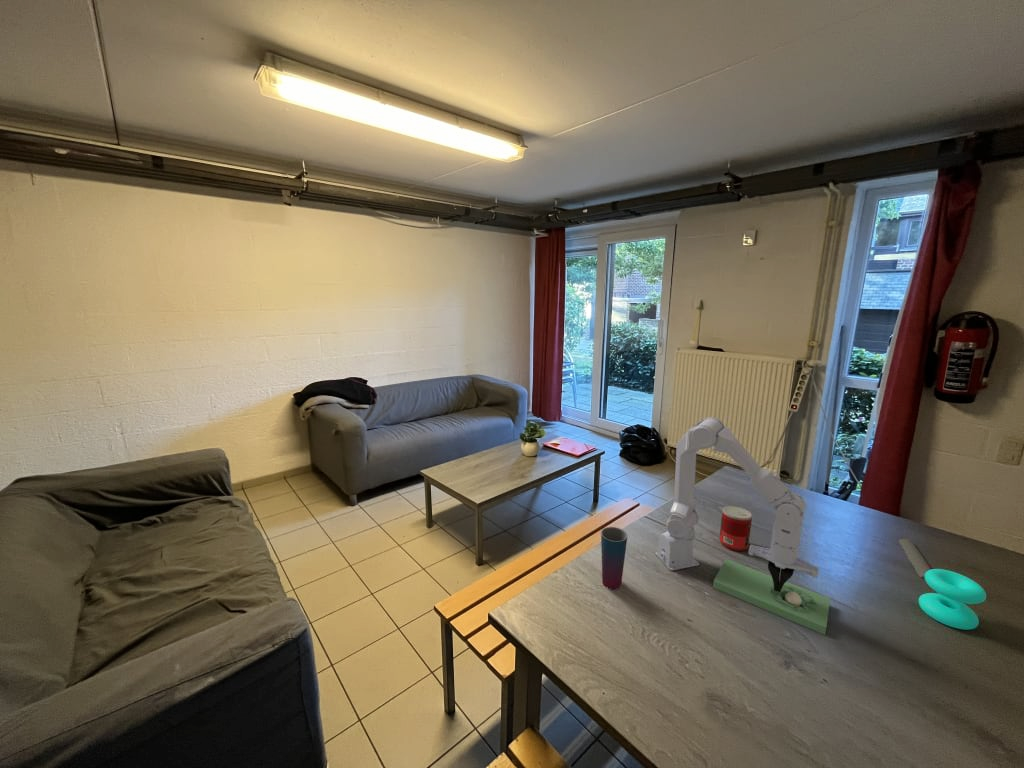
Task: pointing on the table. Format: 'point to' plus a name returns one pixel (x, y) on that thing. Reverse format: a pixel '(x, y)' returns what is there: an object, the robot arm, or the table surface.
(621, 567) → the cup
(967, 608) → the donuts
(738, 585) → the green
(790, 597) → the ball
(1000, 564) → the table surface
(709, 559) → the table surface
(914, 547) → the half round rod
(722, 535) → the canned food
